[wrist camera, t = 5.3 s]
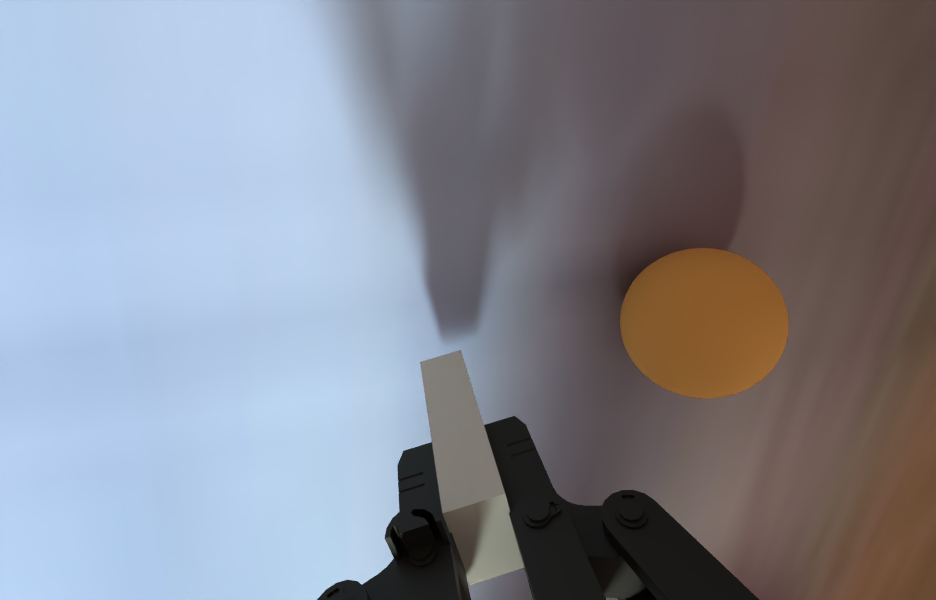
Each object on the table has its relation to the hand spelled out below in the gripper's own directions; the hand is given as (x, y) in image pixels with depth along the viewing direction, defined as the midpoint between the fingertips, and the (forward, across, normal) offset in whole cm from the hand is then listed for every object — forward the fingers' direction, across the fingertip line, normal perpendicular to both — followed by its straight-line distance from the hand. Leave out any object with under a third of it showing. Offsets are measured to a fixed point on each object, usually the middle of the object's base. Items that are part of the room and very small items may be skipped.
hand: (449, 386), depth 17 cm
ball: (0, +10, 0) cm, 10 cm away
